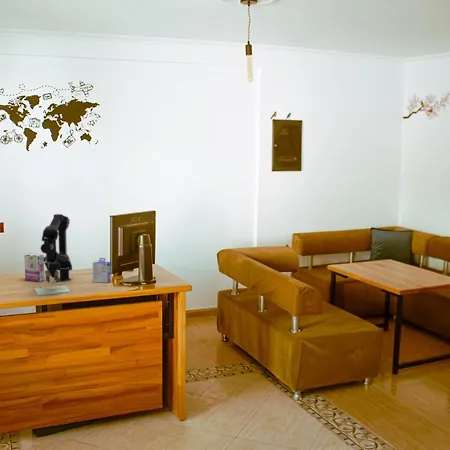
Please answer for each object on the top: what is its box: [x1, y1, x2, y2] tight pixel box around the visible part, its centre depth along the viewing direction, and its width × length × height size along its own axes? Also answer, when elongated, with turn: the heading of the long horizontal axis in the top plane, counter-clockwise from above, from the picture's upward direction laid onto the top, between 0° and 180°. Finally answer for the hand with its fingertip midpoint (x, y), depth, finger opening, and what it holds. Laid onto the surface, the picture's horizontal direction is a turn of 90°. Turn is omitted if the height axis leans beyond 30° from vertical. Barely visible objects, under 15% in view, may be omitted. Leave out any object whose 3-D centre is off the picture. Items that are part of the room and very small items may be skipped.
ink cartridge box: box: [92, 257, 112, 283], centre depth 364 cm, size 10×6×14 cm, turn 78°
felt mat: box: [33, 285, 72, 297], centre depth 342 cm, size 14×18×1 cm
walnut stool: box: [44, 269, 60, 284], centre depth 341 cm, size 6×6×6 cm
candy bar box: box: [23, 253, 45, 283], centre depth 364 cm, size 11×5×16 cm, turn 68°
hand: (51, 276), depth 341 cm, fingers closed on walnut stool, 6 cm apart
